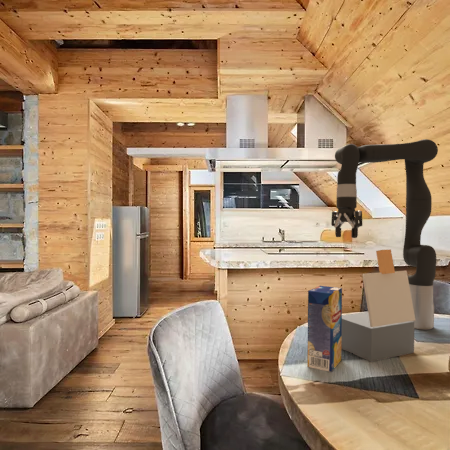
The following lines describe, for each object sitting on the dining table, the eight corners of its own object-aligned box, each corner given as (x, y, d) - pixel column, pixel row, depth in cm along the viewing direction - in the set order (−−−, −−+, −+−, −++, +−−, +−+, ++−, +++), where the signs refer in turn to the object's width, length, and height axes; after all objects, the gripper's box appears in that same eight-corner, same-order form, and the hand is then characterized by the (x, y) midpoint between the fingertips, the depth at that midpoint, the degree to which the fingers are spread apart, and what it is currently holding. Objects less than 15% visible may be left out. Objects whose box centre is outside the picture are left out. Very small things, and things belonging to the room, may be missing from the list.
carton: (374, 338, 131) (374, 310, 131) (414, 352, 117) (414, 321, 117) (333, 345, 123) (334, 316, 123) (371, 361, 109) (371, 328, 109)
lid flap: (400, 249, 121) (406, 248, 119) (413, 320, 117) (419, 320, 115) (358, 251, 113) (364, 250, 111) (370, 327, 109) (376, 327, 107)
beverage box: (341, 359, 110) (342, 287, 110) (330, 372, 101) (331, 293, 101) (319, 355, 114) (320, 285, 114) (307, 366, 105) (308, 291, 104)
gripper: (367, 195, 137) (367, 238, 137) (340, 197, 150) (340, 236, 150) (352, 194, 134) (352, 238, 134) (326, 197, 147) (326, 236, 147)
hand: (346, 237), depth 142 cm, fingers open, 8 cm apart
